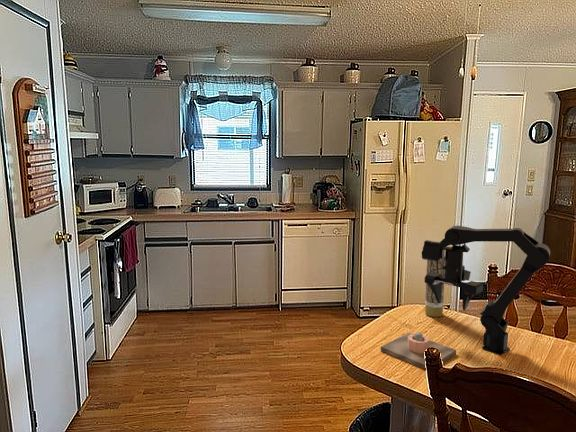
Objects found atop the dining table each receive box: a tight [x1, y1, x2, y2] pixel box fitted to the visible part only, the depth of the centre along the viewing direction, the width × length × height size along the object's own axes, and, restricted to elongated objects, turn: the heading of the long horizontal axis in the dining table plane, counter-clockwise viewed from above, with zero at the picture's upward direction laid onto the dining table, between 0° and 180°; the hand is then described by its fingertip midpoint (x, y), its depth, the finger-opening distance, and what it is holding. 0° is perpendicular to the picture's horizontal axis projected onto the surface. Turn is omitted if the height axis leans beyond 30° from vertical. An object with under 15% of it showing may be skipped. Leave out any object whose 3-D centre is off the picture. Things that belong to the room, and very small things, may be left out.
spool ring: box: [407, 333, 430, 353], centre depth 146 cm, size 6×6×4 cm
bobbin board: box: [380, 331, 457, 371], centre depth 146 cm, size 18×16×6 cm
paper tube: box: [424, 254, 445, 318], centre depth 176 cm, size 7×7×25 cm
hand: (451, 306), depth 154 cm, fingers open, 9 cm apart
